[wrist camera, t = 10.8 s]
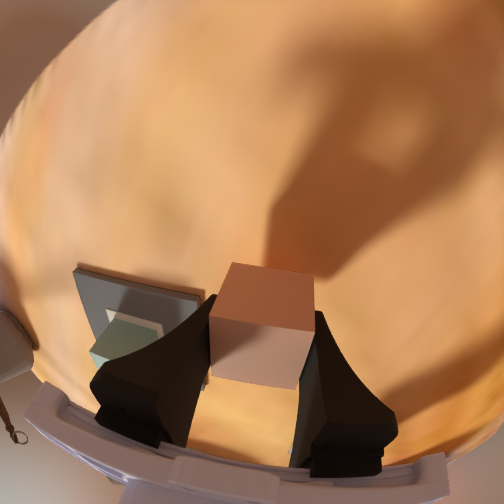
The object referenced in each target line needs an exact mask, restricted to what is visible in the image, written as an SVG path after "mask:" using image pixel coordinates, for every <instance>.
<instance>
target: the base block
mask: <svg viewBox="0 0 504 504" xmlns="http://www.w3.org/2000/svg"><path fill="white" fill-rule="evenodd" d="M156 340H158V336H157V331H156V330H154V329H150V328H146V327H143V326H139V325H136V324H133V323H129V322H126V321H123V320H119V319H116V318H113V320H112V321H111V322H110V324H109V325H108V326H107V328H106V329H105V330H104V332H103V333H102V334H101V336H100V337H99V338H98V340H97V341H96V342H95V344H94V345H93V347H92V348H91V349H90V351H89V353H90V355H91V357H92V359H93V361H94V363H95V365H96V367H97V369H98V370H99V368H100V367H101V366H102V364H103V363H104V362H106V361H109V360H113V359H116V358H119V357H122V356H125V355H128V354H130V353H133V352H135V351H137V350H139V349H142V348H144V347H146V346H148V345H149V344H151V343H153V342H155V341H156Z"/></svg>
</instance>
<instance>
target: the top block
mask: <svg viewBox="0 0 504 504" xmlns="http://www.w3.org/2000/svg"><path fill="white" fill-rule="evenodd" d="M209 333H210V358H211V376H215V377H220V378H225V379H229V380H235V381H240V382H245V383H251V384H257V385H264V386H270V387H277V388H285V389H293V390H295V389H296V386H297V383H298V380H299V378H300V375H301V372H302V369H303V367H304V364H305V361H306V358H307V355H308V352H309V349H310V346H311V343H312V340H313V337H314V334H315V306H314V281H313V274H307V273H301V272H294V271H287V270H280V269H273V268H267V267H260V266H254V265H247V264H240V263H234V262H232V264H231V266H230V268H229V271H228V273H227V275H226V277H225V280H224V282H223V284H222V287H221V289H220V291H219V293H218V296H217V298H216V300H215V303H214V305H213V307H212V309H211V312H210V314H209Z"/></svg>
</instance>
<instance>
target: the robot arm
mask: <svg viewBox="0 0 504 504" xmlns="http://www.w3.org/2000/svg"><path fill="white" fill-rule="evenodd" d="M217 296H218V295H216V294H212V295H211V296H210V297H209V298H208V299H207V300H206V301H205V302H204V303H203V304H202V305H201V306H200V307H199V308H198V309H197V310H196V311H195V312H194V313H192V314H191V315H190V316H189V317H188V318H187V319H186V320H184V321H183V322H182V323H181V324H179V325H178V326H177V327H176V328H174V329H173V330H172V331H170V332H169V333H167V334H166V335H164V336H163V337H161V338H160V339H158V340H156V341H155V342H153V343H151V344H149V345H148V346H146V347H144V348H142V349H139V350H137V351H135V352H133V353H130V354H128V355H125V356H122V357H119V358H116V359H113V360H109V361H106V362H104V363H103V364H102V366H101V367H100V368H99V370H98V371H97V373H96V374H95V376H94V377H93V379H92V381H91V382H90V389H91V391H92V393H93V395H94V396H95V398H96V399H97V401H98V402H99V404H100V405H101V407H100V409H99V410H98V412H97V414H95V413H93V412H91V411H89V410H87V409H85V408H83V407H81V406H79V405H77V404H75V403H74V402H72V401H70V399H69V398H68V396H67V395H66V394H65V393H64V392H63V391H62V390H60V389H59V388H57V387H56V386H54V385H52V384H51V383H49V382H47V381H45V382H44V384H43V385H42V386H41V388H40V389H39V391H38V392H37V394H36V395H35V397H34V398H33V400H32V401H31V403H30V404H29V406H28V407H27V409H26V410H25V412H24V413H23V417H25V419H26V420H27V421H29V423H30V424H32V425H33V426H34V427H35V428H36V429H37V430H38V431H39V432H40V433H42V435H43V436H45V437H46V438H47V439H48V440H50V441H51V442H53V443H54V444H56V445H57V446H59V447H60V448H62V449H63V450H65V451H66V452H68V453H69V454H71V455H73V456H74V457H76V458H77V459H79V460H81V461H82V462H84V463H86V464H87V465H89V466H91V467H93V468H94V469H96V470H98V471H100V472H102V473H103V474H105V475H107V476H109V477H111V478H113V479H115V480H117V481H119V482H121V483H123V484H126V487H125V489H124V492H123V494H122V497H121V499H120V502H119V504H431V503H433V502H435V501H438V500H440V499H442V498H445V497H447V496H449V494H450V489H449V480H448V472H447V465H446V458H445V453H444V452H440V453H435V454H430V455H426V456H423V457H421V458H419V459H417V460H416V461H415V462H414V463H408V464H402V465H394V466H385V467H382V462H381V457H383V456H384V447H386V446H387V445H388V444H389V443H391V442H392V441H393V440H394V439H395V438H396V437H397V435H398V426H397V421H396V417H395V414H394V412H393V411H392V410H391V409H389V408H388V407H387V406H386V405H384V404H383V403H382V402H381V401H380V400H379V399H378V398H377V397H376V396H374V395H373V394H372V393H371V392H370V391H369V389H368V388H367V387H366V386H365V385H364V384H363V383H362V382H361V380H360V379H359V378H358V377H357V375H356V374H355V373H354V371H353V370H352V369H351V367H350V366H349V364H348V363H347V361H346V360H345V358H344V356H343V355H342V353H341V351H340V349H339V347H338V346H337V344H336V342H335V340H334V338H333V336H332V334H331V332H330V329H329V327H328V325H327V322H326V320H325V317H324V315H323V313H322V311H316V310H315V334H314V337H313V340H312V343H311V346H310V349H309V352H308V355H307V358H306V361H305V364H304V367H303V369H302V372H301V375H300V378H299V405H298V414H297V421H296V428H295V435H294V441H293V445H292V447H291V448H290V450H289V453H290V454H291V458H290V463H289V467H279V466H270V465H262V464H255V463H248V462H242V461H237V460H231V459H226V458H222V457H217V456H213V455H208V454H204V453H200V452H196V451H193V450H189V449H185V448H186V444H187V440H188V435H189V431H190V427H191V423H192V419H193V416H194V412H195V408H196V405H197V401H198V398H199V394H200V391H201V388H202V385H203V382H204V379H205V377H206V374H207V372H208V370H209V367H210V365H211V358H210V333H209V314H210V312H211V309H212V307H213V305H214V303H215V300H216V298H217Z"/></svg>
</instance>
